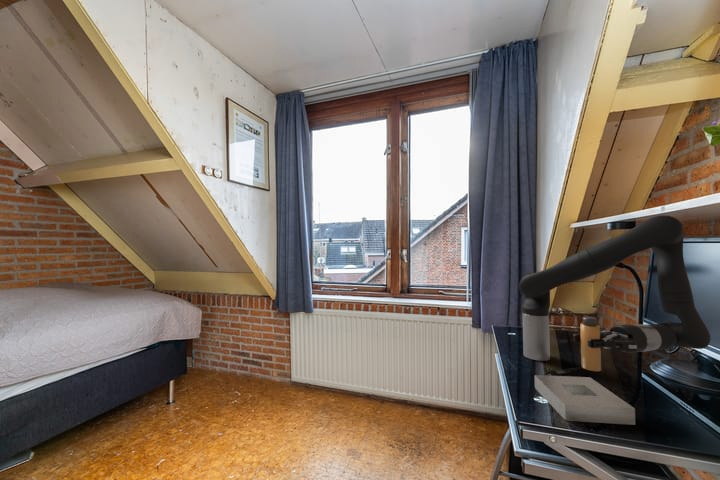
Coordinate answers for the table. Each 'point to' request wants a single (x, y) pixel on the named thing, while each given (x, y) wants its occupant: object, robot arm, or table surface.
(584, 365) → the plug
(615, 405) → the grey square-holed plate
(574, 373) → the electric trimmer
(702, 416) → the table surface
